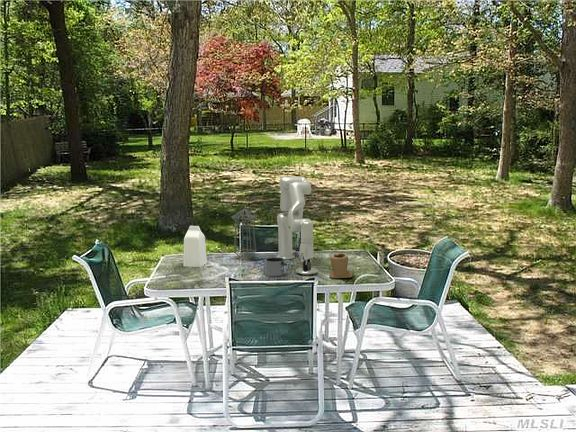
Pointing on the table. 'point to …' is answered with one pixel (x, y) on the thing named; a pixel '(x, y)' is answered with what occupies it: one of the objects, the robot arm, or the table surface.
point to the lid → (309, 272)
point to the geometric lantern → (242, 232)
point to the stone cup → (340, 266)
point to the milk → (194, 248)
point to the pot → (274, 266)
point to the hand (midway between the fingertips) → (306, 269)
